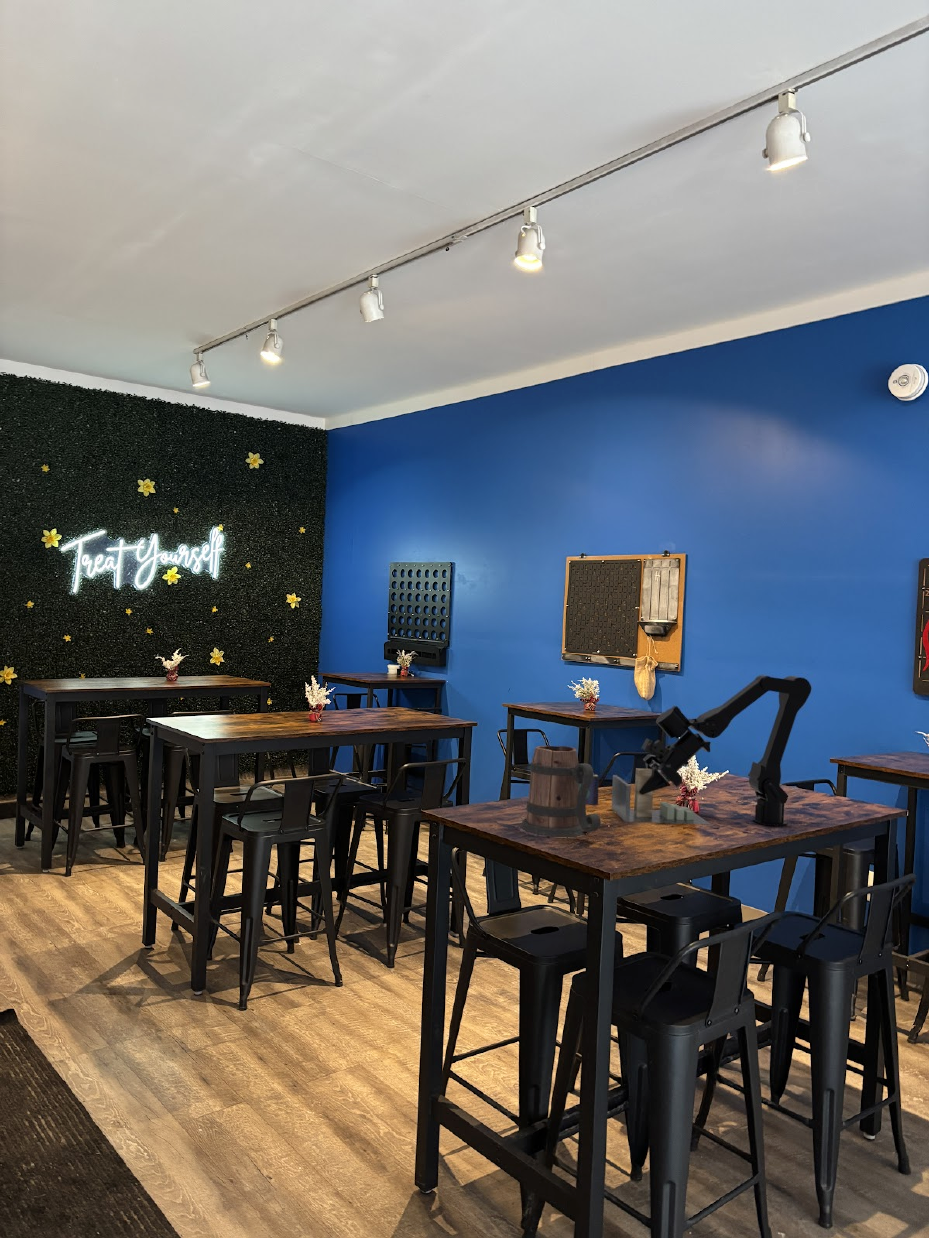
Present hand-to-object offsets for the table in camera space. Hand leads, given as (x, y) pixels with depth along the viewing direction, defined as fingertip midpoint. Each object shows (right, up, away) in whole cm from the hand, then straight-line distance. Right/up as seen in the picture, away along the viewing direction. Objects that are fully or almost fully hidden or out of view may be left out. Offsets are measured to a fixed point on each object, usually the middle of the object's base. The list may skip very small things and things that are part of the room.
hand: (638, 792), depth 242 cm
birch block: (+1, -6, 0) cm, 6 cm away
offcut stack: (+10, -7, +1) cm, 12 cm away
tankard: (-22, -6, -20) cm, 30 cm away
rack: (+6, -7, 0) cm, 9 cm away
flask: (-13, -7, +14) cm, 21 cm away
